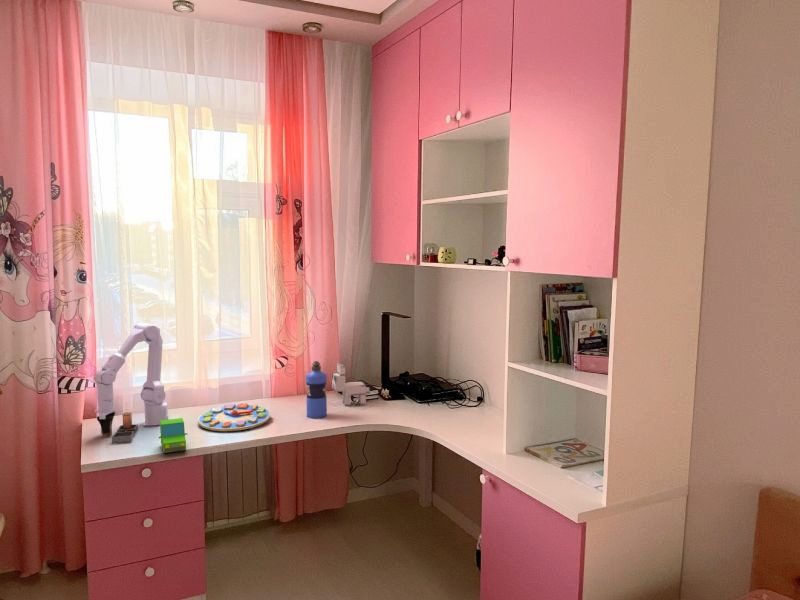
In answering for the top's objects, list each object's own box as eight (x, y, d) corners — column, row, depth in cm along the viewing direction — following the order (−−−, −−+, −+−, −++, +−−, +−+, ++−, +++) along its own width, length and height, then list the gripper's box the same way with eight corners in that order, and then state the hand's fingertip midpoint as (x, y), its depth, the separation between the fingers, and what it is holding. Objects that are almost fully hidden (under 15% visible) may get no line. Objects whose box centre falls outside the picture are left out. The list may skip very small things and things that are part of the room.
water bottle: (325, 412, 282) (324, 359, 280) (328, 417, 273) (327, 363, 271) (305, 413, 279) (304, 360, 277) (307, 419, 270) (306, 364, 268)
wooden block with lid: (111, 434, 249) (111, 417, 248) (110, 436, 246) (109, 419, 245) (102, 435, 248) (102, 418, 247) (101, 437, 245) (100, 420, 245)
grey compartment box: (138, 429, 255) (137, 410, 254) (131, 442, 239) (130, 421, 238) (120, 431, 253) (119, 411, 253) (111, 443, 237) (111, 423, 236)
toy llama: (370, 404, 296) (370, 364, 294) (335, 407, 291) (334, 366, 289) (367, 400, 303) (367, 361, 301) (332, 403, 298) (332, 363, 296)
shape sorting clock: (186, 433, 252) (186, 418, 251) (212, 413, 282) (212, 400, 282) (259, 434, 250) (259, 419, 250) (277, 413, 281) (277, 401, 280)
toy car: (160, 456, 223) (159, 430, 222) (158, 446, 235) (157, 420, 234) (189, 452, 227) (188, 426, 226) (185, 442, 239) (185, 417, 238)
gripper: (98, 395, 252) (100, 427, 253) (90, 404, 238) (91, 438, 239) (117, 394, 253) (118, 426, 255) (109, 403, 239) (111, 436, 241)
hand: (107, 431), depth 247 cm, fingers open, 3 cm apart
